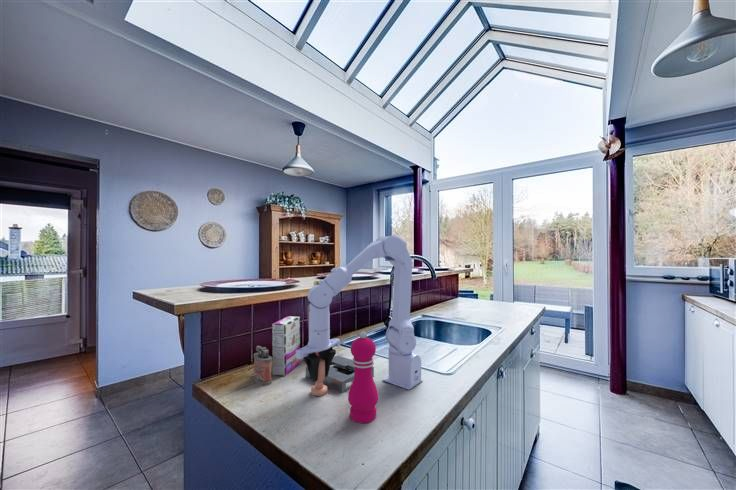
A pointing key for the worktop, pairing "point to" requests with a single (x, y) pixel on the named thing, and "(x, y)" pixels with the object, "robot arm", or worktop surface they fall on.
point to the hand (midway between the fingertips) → (319, 377)
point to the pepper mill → (363, 381)
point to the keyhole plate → (339, 374)
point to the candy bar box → (285, 345)
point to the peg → (320, 381)
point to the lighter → (262, 366)
